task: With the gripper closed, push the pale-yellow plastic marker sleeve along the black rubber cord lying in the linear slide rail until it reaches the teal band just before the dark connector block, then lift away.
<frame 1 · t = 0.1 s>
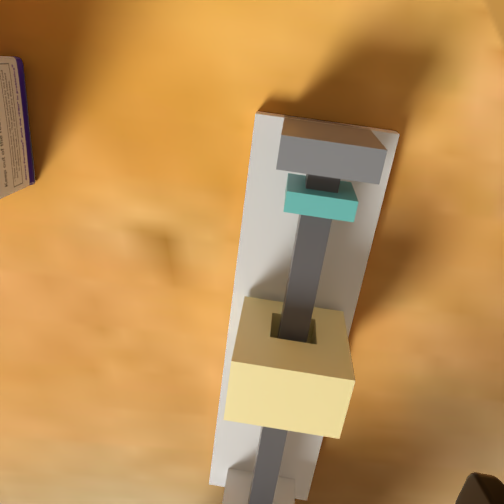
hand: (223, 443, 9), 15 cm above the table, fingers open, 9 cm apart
marker sleeve: (288, 361, 21), point 4 cm above the table, slide at 0.0 cm
linear slide rail: (286, 334, 25), on the table
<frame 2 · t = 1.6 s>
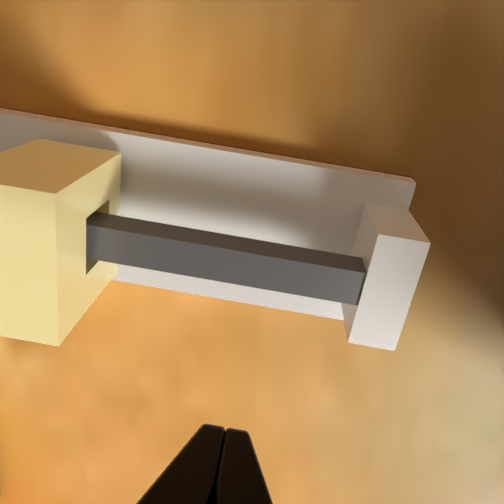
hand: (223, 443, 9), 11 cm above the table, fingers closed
marker sleeve: (48, 233, 15), point 4 cm above the table, slide at 0.0 cm
linear slide rail: (116, 203, 19), on the table
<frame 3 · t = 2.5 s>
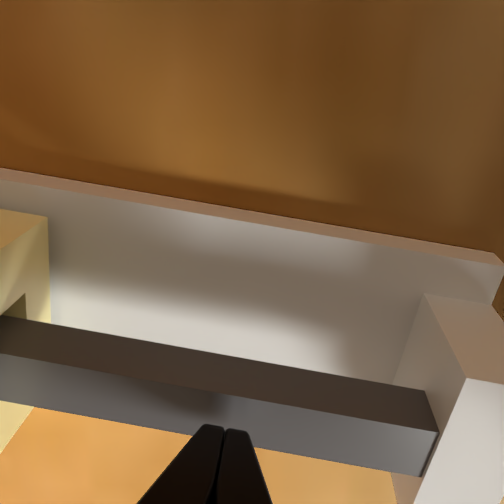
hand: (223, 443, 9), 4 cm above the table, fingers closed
linear slide rail: (51, 282, 13), on the table
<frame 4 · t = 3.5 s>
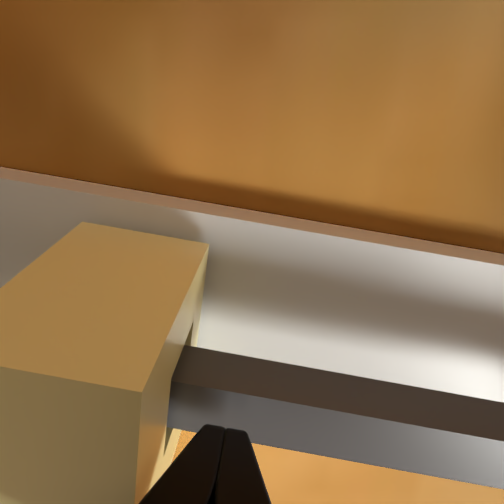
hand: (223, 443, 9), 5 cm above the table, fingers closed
marker sleeve: (101, 386, 10), point 4 cm above the table, slide at 1.2 cm, touching gripper
linear slide rail: (231, 312, 13), on the table
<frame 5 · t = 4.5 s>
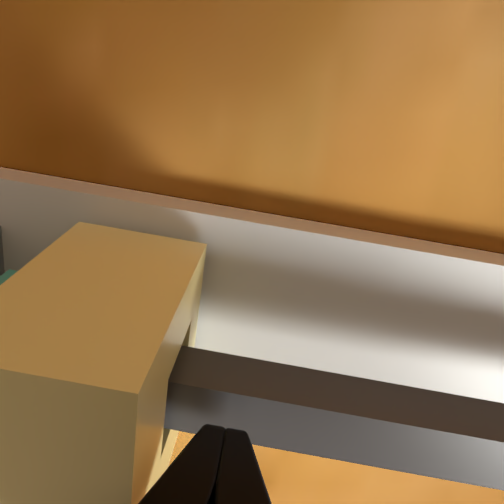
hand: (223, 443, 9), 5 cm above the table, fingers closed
marker sleeve: (98, 387, 10), point 4 cm above the table, slide at 5.2 cm, touching gripper
linear slide rail: (376, 339, 13), on the table
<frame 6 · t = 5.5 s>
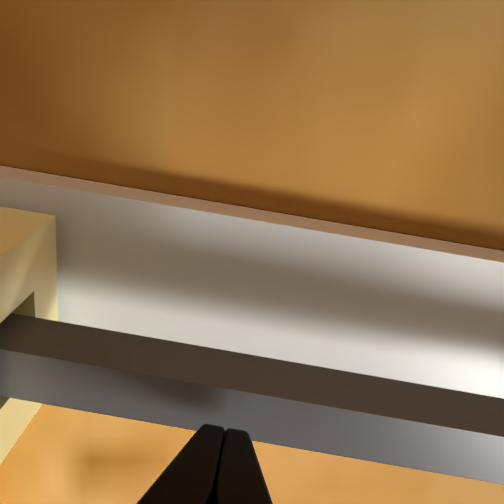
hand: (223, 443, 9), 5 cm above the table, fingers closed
linear slide rail: (247, 313, 13), on the table
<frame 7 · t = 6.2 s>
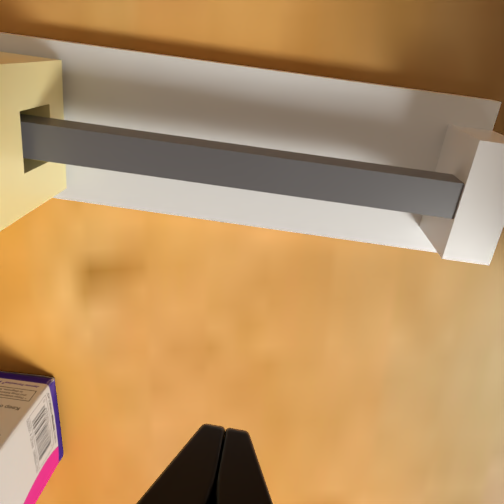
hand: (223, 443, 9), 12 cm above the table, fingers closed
supplement box: (10, 409, 26), on the table
linear slide rail: (193, 139, 19), on the table
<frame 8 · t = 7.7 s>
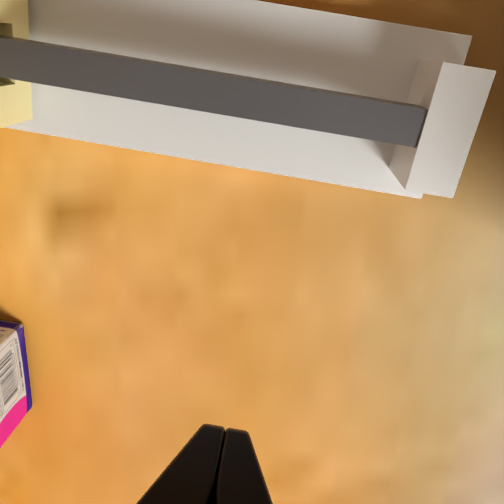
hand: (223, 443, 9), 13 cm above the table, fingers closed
linear slide rail: (162, 73, 19), on the table
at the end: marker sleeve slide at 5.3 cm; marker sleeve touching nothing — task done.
